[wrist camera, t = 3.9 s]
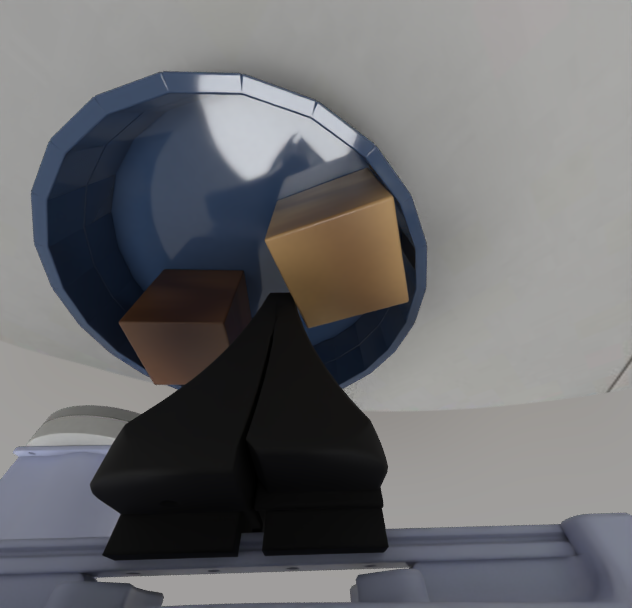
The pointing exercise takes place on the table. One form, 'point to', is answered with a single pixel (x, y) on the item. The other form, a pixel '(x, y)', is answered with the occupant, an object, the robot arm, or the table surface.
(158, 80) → the bowl
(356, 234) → the beech block
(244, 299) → the walnut block
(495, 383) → the table surface
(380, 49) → the table surface
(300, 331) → the robot arm
